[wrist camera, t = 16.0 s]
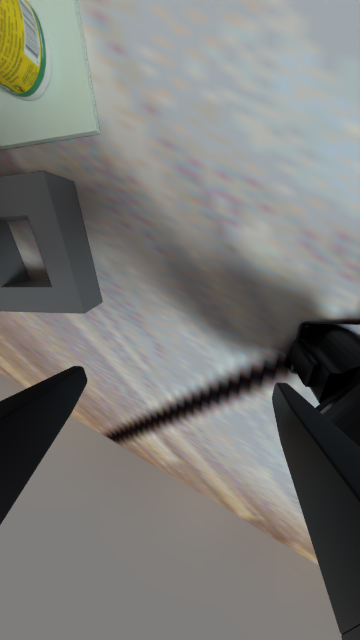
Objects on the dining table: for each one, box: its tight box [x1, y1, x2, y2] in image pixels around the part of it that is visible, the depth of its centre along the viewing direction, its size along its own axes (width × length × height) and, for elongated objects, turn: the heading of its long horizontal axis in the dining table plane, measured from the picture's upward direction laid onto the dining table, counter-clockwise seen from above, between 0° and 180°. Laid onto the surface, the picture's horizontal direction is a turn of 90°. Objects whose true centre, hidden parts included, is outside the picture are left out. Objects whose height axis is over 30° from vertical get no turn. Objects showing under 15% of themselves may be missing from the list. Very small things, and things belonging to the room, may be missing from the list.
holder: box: [0, 171, 102, 313], centre depth 20 cm, size 12×12×4 cm
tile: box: [0, 0, 100, 149], centre depth 14 cm, size 10×10×1 cm
